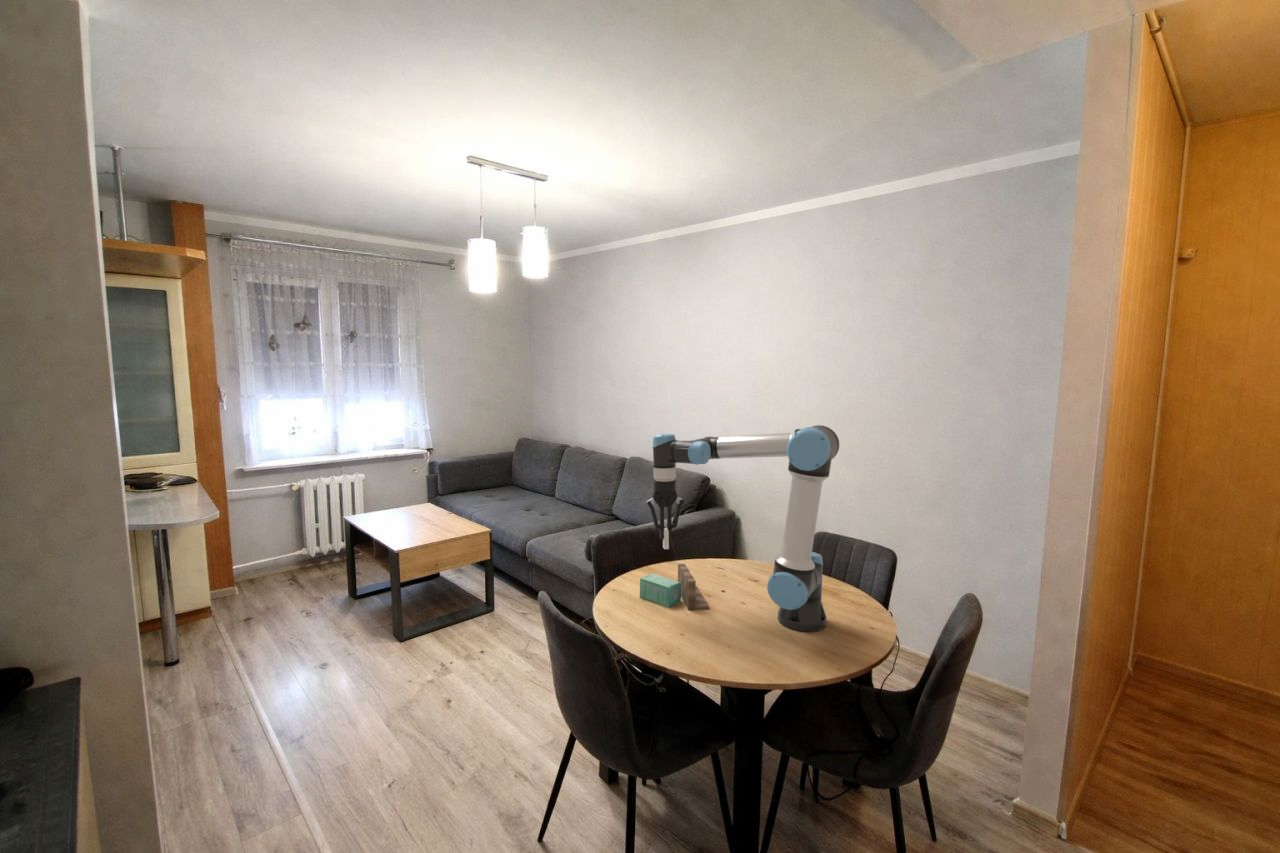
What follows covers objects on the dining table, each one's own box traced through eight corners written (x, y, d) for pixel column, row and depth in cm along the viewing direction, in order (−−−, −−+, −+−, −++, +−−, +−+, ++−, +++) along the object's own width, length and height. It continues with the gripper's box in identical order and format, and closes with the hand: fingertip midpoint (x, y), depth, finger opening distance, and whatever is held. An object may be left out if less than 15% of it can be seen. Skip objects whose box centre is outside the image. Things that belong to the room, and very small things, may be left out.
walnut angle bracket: (708, 609, 188) (709, 580, 188) (688, 610, 188) (688, 581, 187) (696, 589, 206) (697, 563, 205) (677, 590, 205) (678, 563, 204)
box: (668, 608, 189) (669, 586, 188) (639, 598, 198) (639, 577, 197) (681, 602, 195) (682, 581, 194) (652, 592, 203) (652, 572, 203)
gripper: (681, 477, 191) (682, 544, 193) (643, 478, 189) (645, 546, 191) (686, 480, 184) (687, 550, 185) (647, 482, 182) (648, 552, 184)
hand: (665, 548), depth 188 cm, fingers closed
